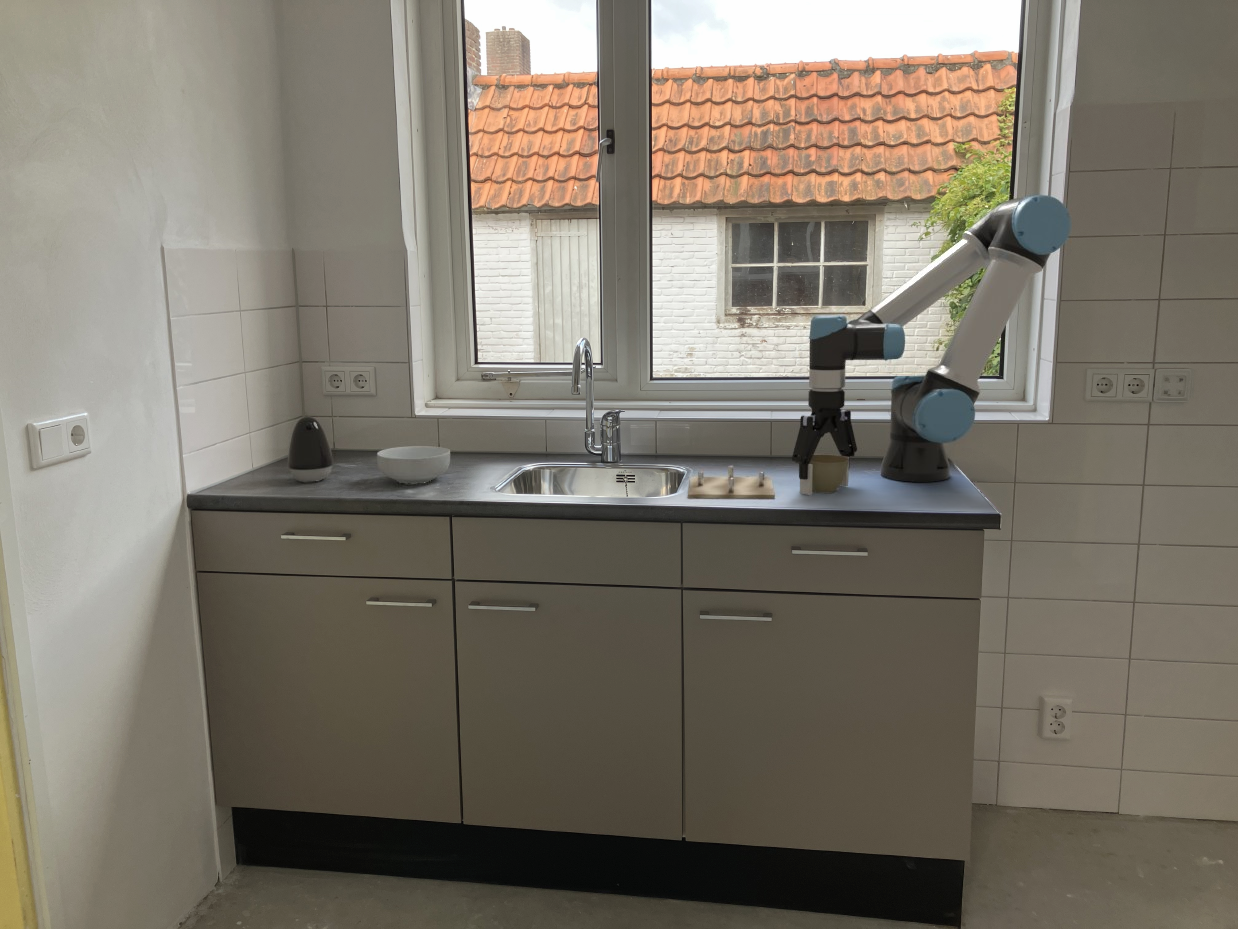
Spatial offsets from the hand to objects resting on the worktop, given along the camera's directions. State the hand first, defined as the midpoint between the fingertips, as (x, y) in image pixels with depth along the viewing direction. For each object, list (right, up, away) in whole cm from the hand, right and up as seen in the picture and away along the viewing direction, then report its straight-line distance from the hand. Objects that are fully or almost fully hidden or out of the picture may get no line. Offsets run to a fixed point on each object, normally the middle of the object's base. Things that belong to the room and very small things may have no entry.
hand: (824, 489), depth 217 cm
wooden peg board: (-20, 0, +3) cm, 20 cm away
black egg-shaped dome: (-117, +1, +20) cm, 118 cm away
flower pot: (0, 0, 0) cm, 0 cm away
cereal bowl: (-92, +1, +17) cm, 93 cm away
